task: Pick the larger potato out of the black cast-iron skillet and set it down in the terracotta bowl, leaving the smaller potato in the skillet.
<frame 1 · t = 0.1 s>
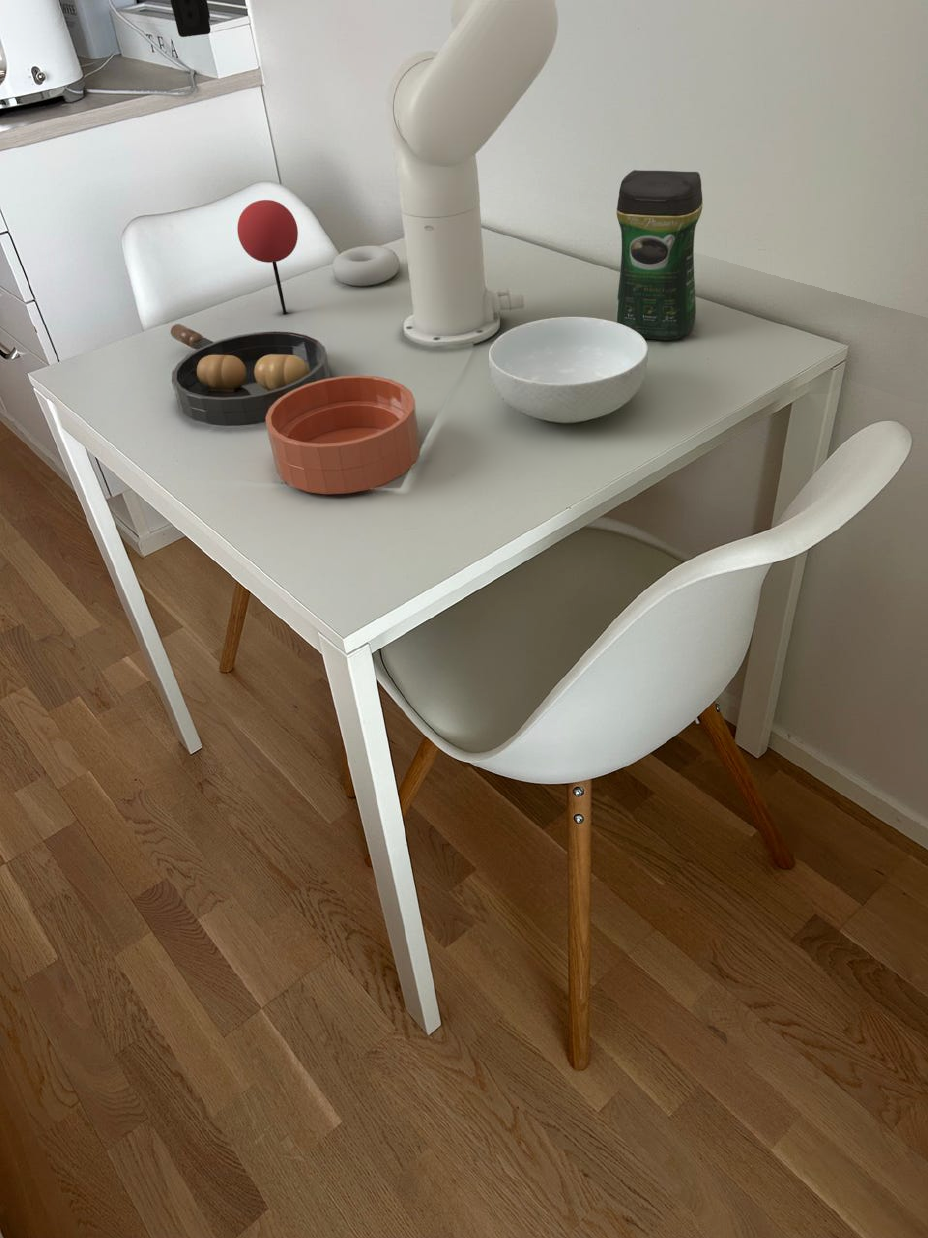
hand: (195, 27, 100), 37 cm above the table, tool pointing down, fingers open, 9 cm apart
potato: (285, 389, 115), point 1 cm above the table, touching skillet
skillet: (256, 392, 117), on the table
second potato: (225, 387, 117), point 1 cm above the table, touching skillet
bowl: (349, 460, 102), on the table
donut: (367, 277, 144), on the table
skillet handle: (193, 339, 123), point 3 cm above the table
coffee jar: (654, 330, 121), on the table
lollipop: (284, 314, 136), on the table
cereal bowl: (568, 408, 107), on the table
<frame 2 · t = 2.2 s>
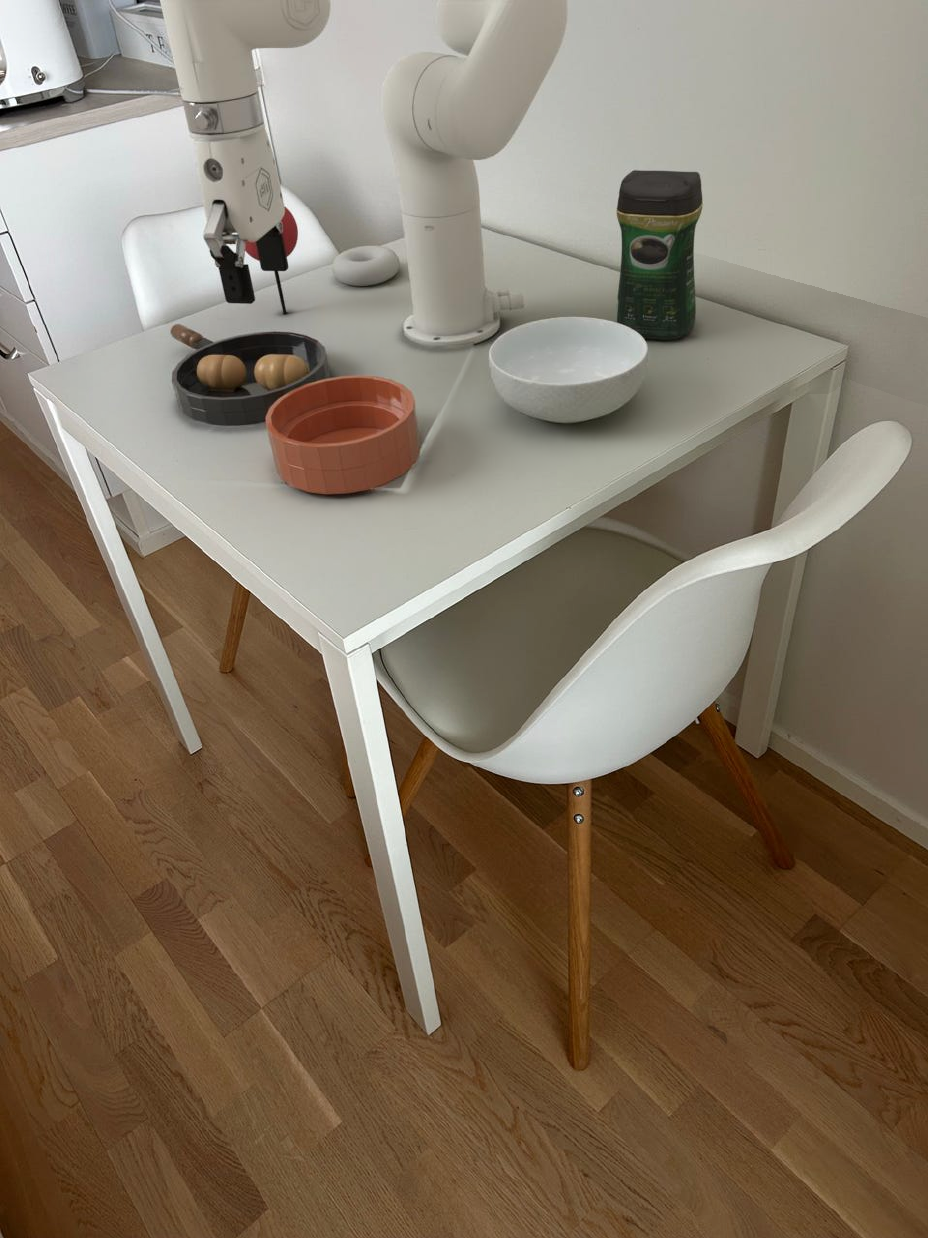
hand: (258, 285, 107), 13 cm above the table, tool pointing down, fingers open, 9 cm apart
nothing on the table moved.
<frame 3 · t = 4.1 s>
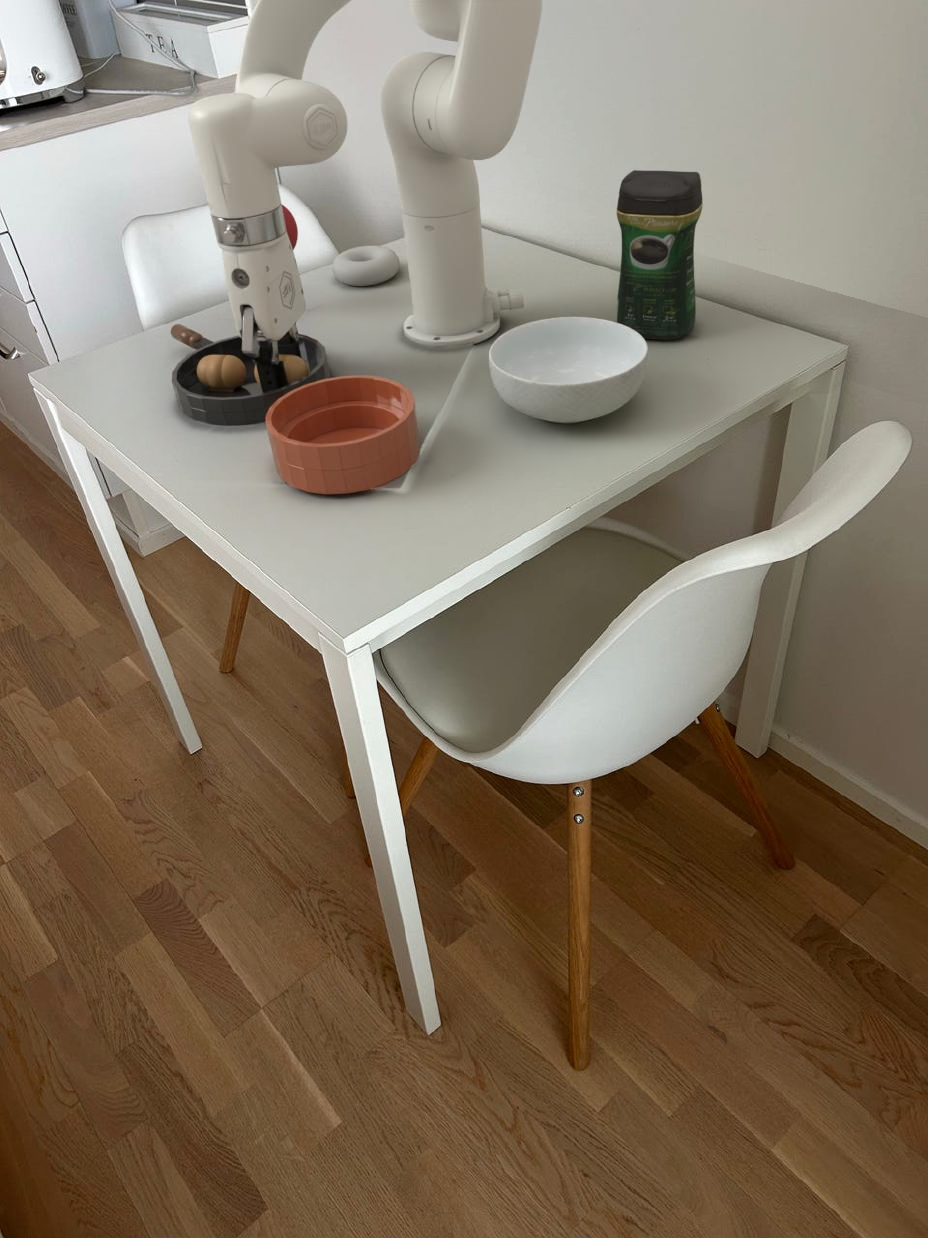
hand: (283, 382, 115), 2 cm above the table, tool pointing down, fingers closed on potato, 4 cm apart
potato: (285, 389, 115), point 1 cm above the table, touching gripper, skillet
everything else where it was.
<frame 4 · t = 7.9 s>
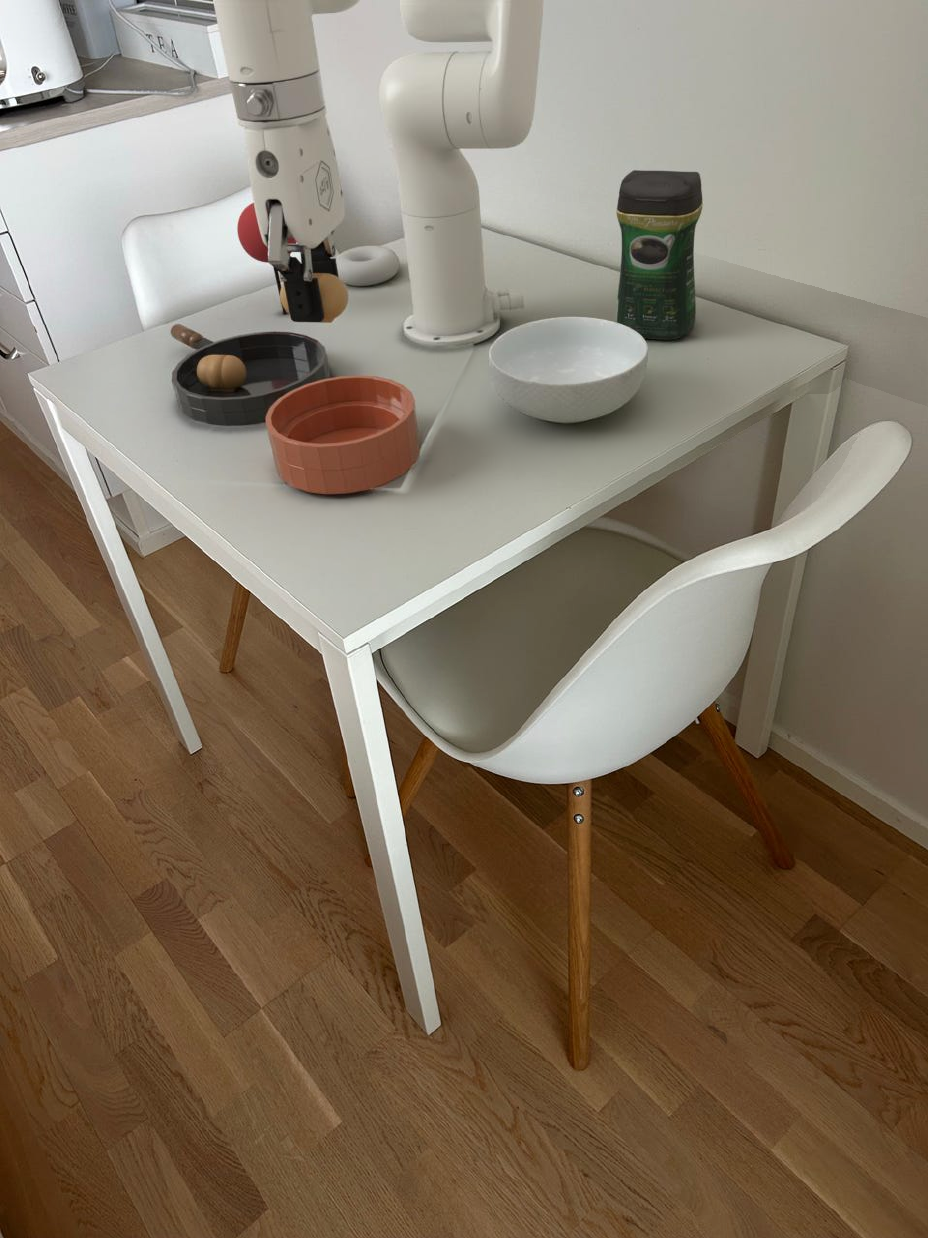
hand: (316, 308, 93), 16 cm above the table, tool pointing down, fingers closed on potato, 4 cm apart
potato: (318, 317, 93), point 15 cm above the table, touching gripper
everything else where it was.
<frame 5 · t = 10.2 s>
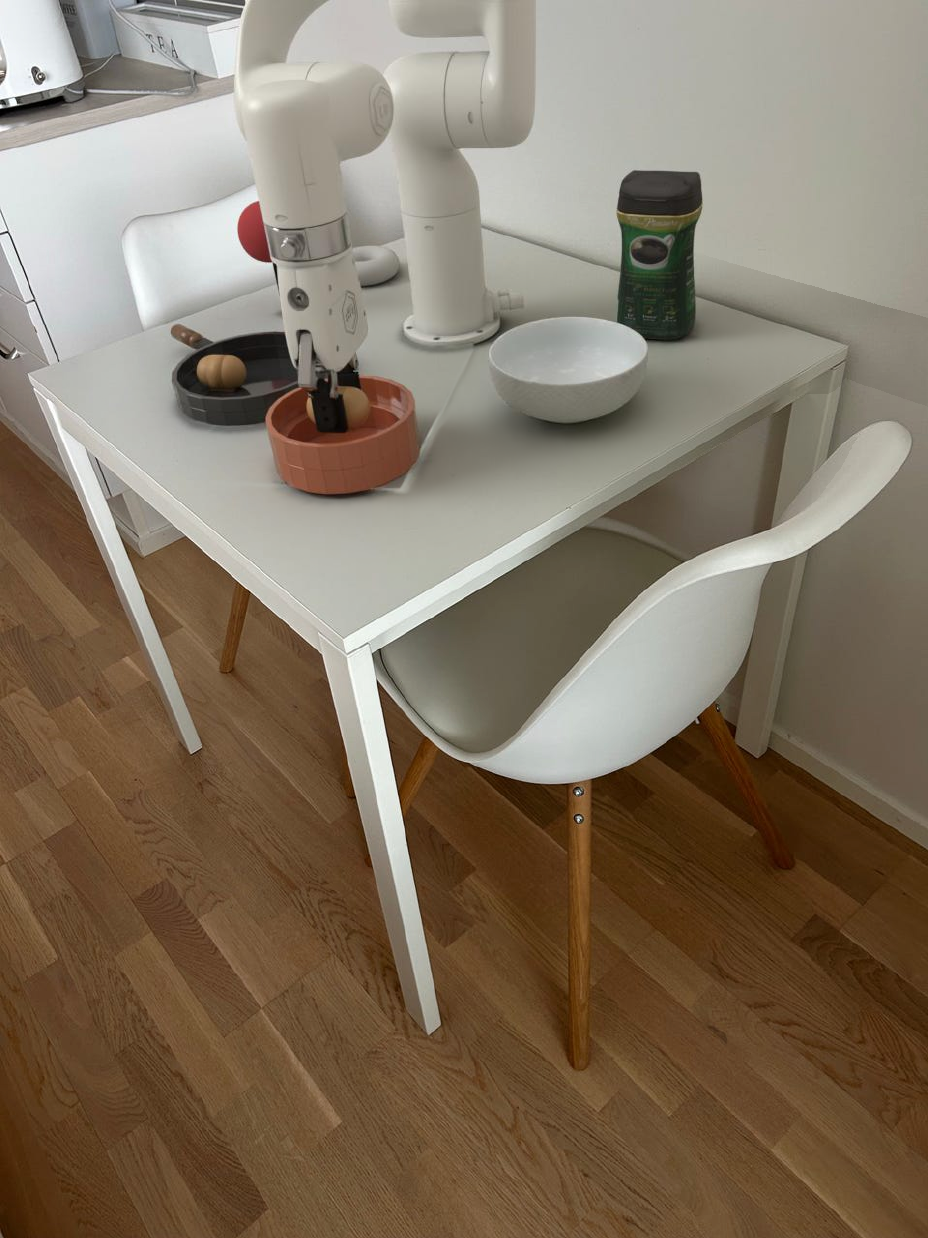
hand: (340, 417, 99), 5 cm above the table, tool pointing down, fingers closed on potato, 4 cm apart
potato: (341, 425, 100), point 4 cm above the table, touching gripper
everything else where it was.
when the fingers open (2 cm above the table, at t = 11.7 s): potato stays where it is, resting on bowl.
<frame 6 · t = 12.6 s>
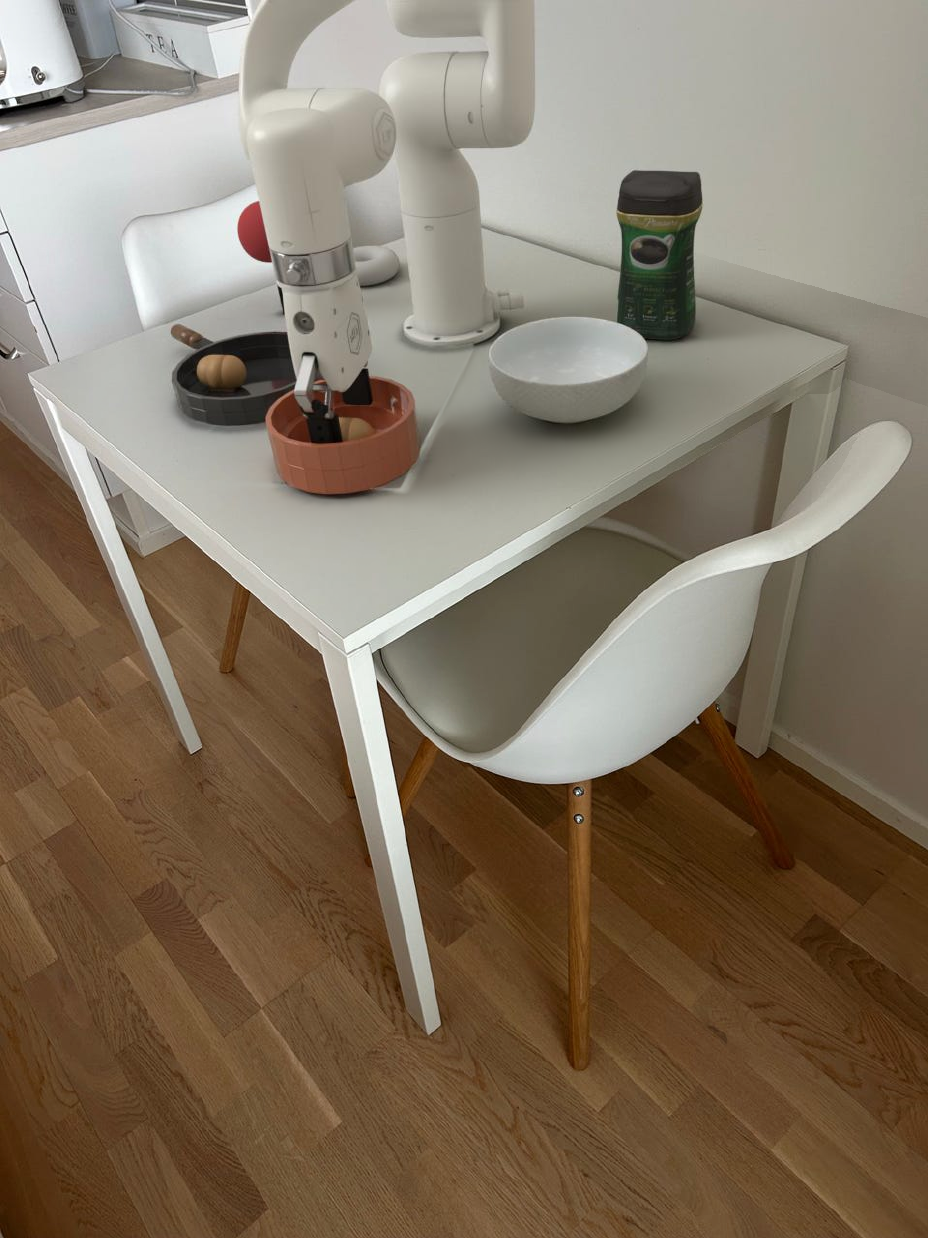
hand: (344, 426, 100), 4 cm above the table, tool pointing down, fingers open, 9 cm apart
potato: (347, 455, 102), point 1 cm above the table, touching bowl
everything else where it was.
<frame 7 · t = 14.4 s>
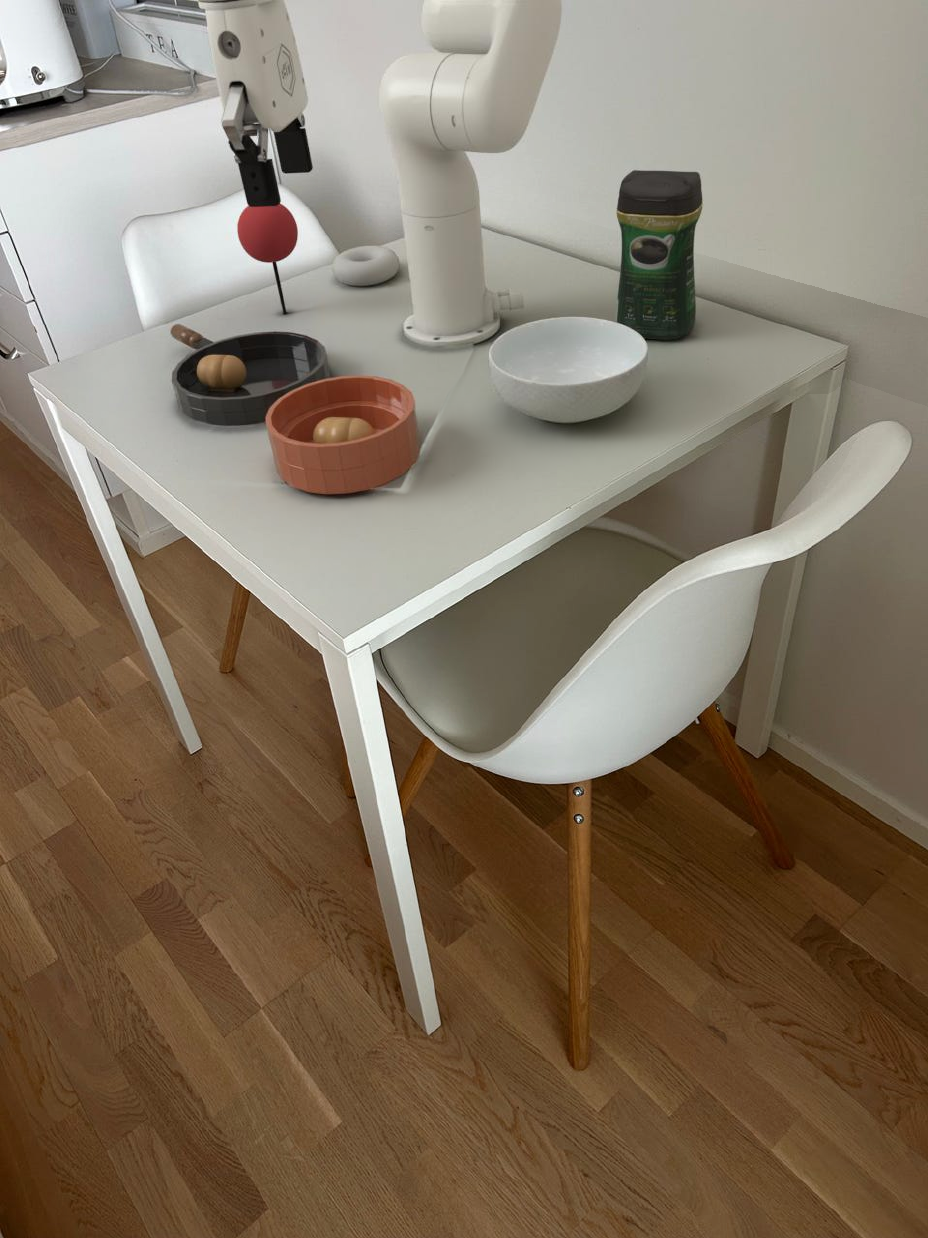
hand: (281, 187, 95), 25 cm above the table, tool pointing down, fingers open, 9 cm apart
nothing on the table moved.
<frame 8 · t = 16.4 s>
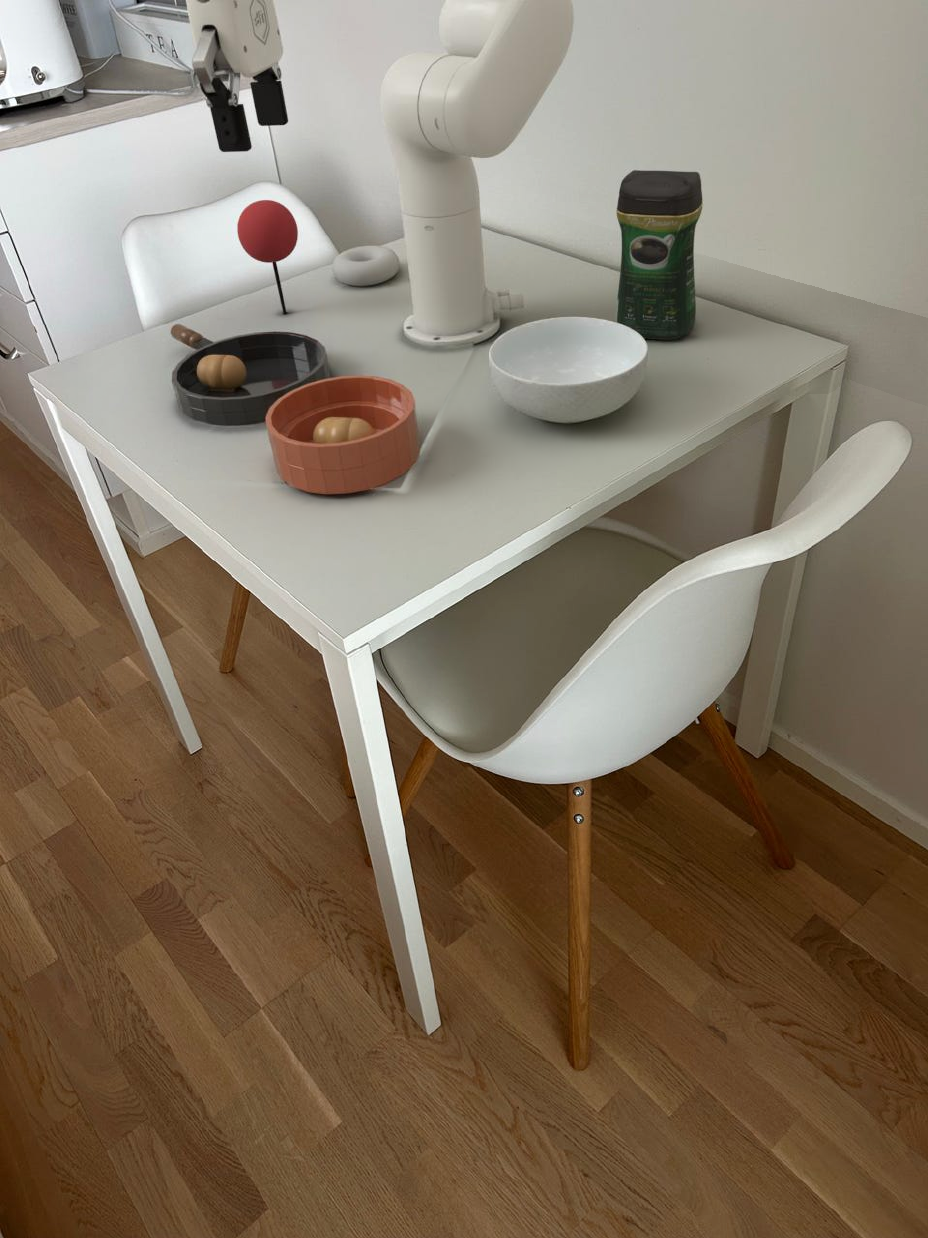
hand: (255, 137, 97), 28 cm above the table, tool pointing down, fingers open, 9 cm apart
nothing on the table moved.
at the end: potato inside the target area in the bowl (0.1 cm from its centre), point 0.6 cm above the bowl's base; the gripper is holding nothing; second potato 3.9 cm from the skillet (horizontally) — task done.
